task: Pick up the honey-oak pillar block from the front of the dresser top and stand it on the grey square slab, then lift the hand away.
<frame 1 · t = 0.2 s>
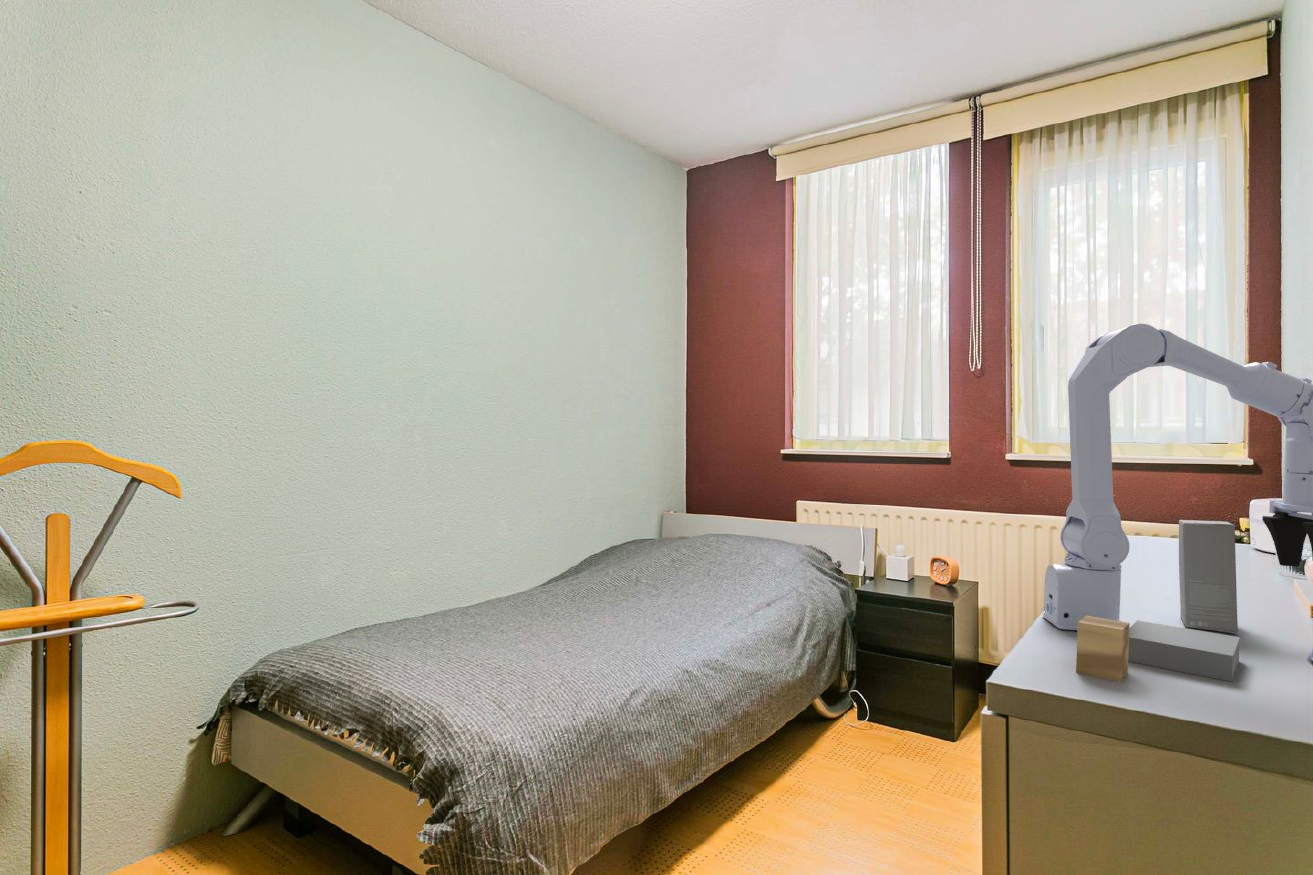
hand: (1306, 570, 103), 10 cm above the table, tool pointing down, fingers open, 7 cm apart
oak block: (1101, 672, 87), on the table
skincare box: (1204, 626, 111), on the table
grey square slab: (1180, 660, 93), on the table
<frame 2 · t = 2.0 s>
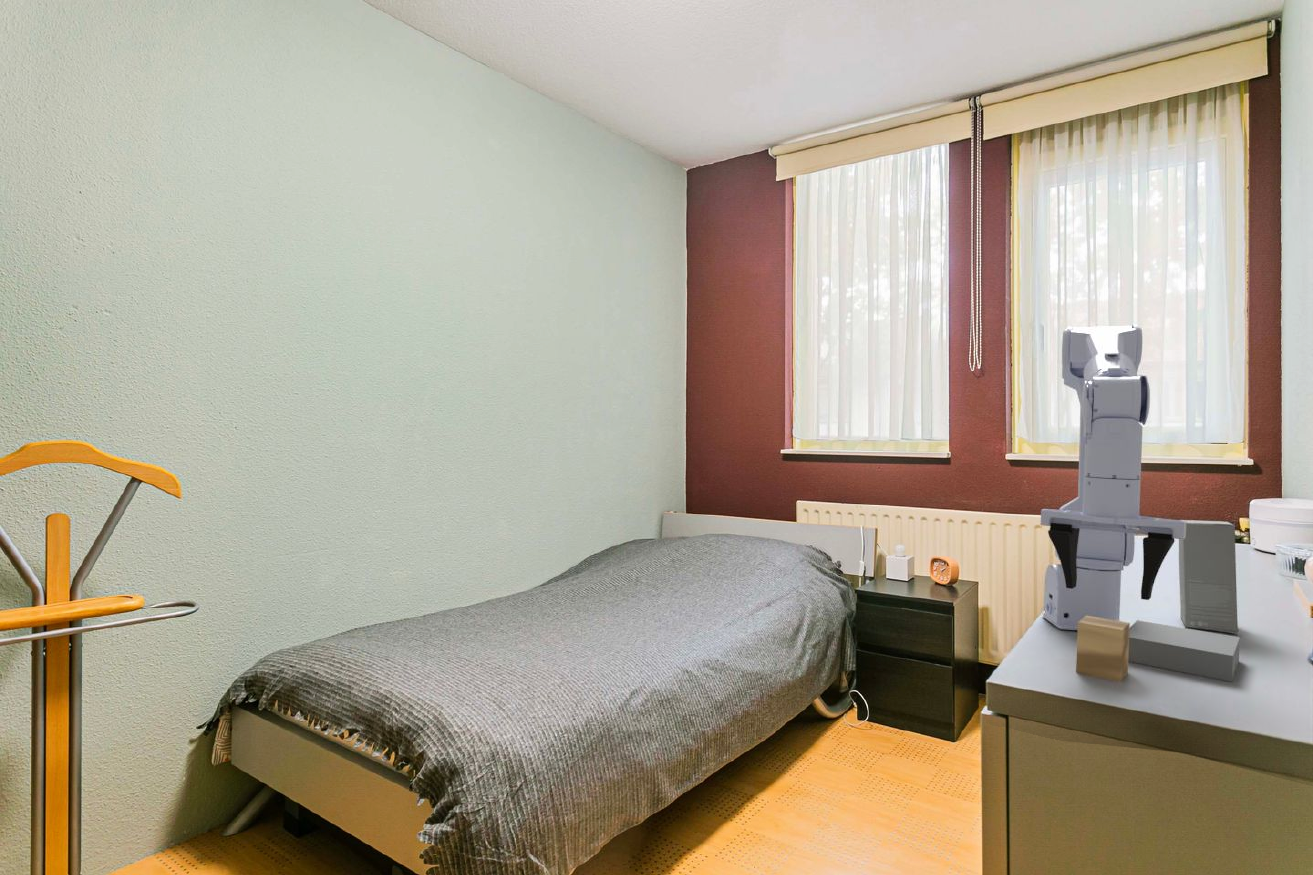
hand: (1107, 592, 87), 9 cm above the table, tool pointing down, fingers open, 7 cm apart
nothing on the table moved.
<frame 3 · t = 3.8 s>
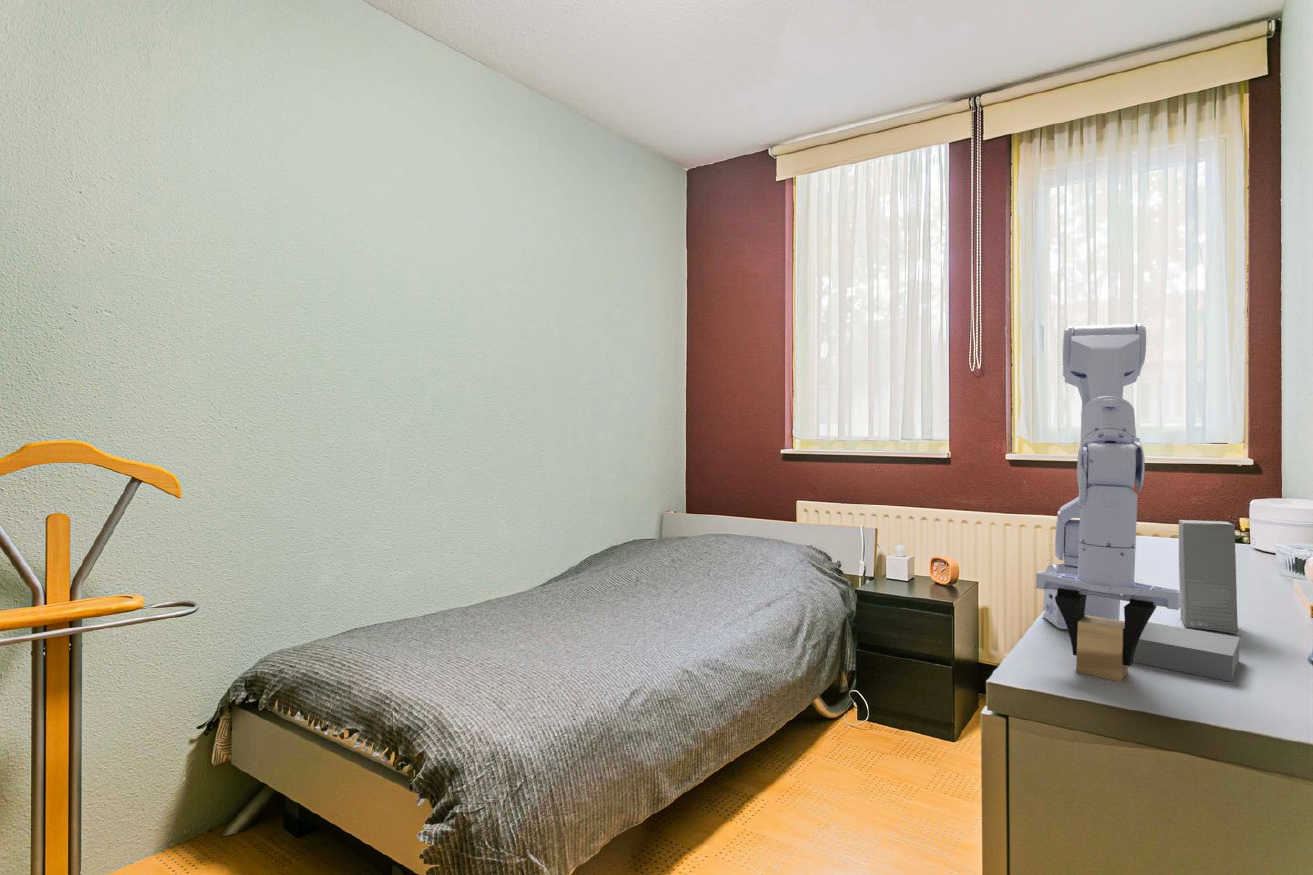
hand: (1102, 658, 87), 2 cm above the table, tool pointing down, fingers closed on oak block, 4 cm apart
oak block: (1101, 672, 87), on the table, touching gripper
everything else where it was.
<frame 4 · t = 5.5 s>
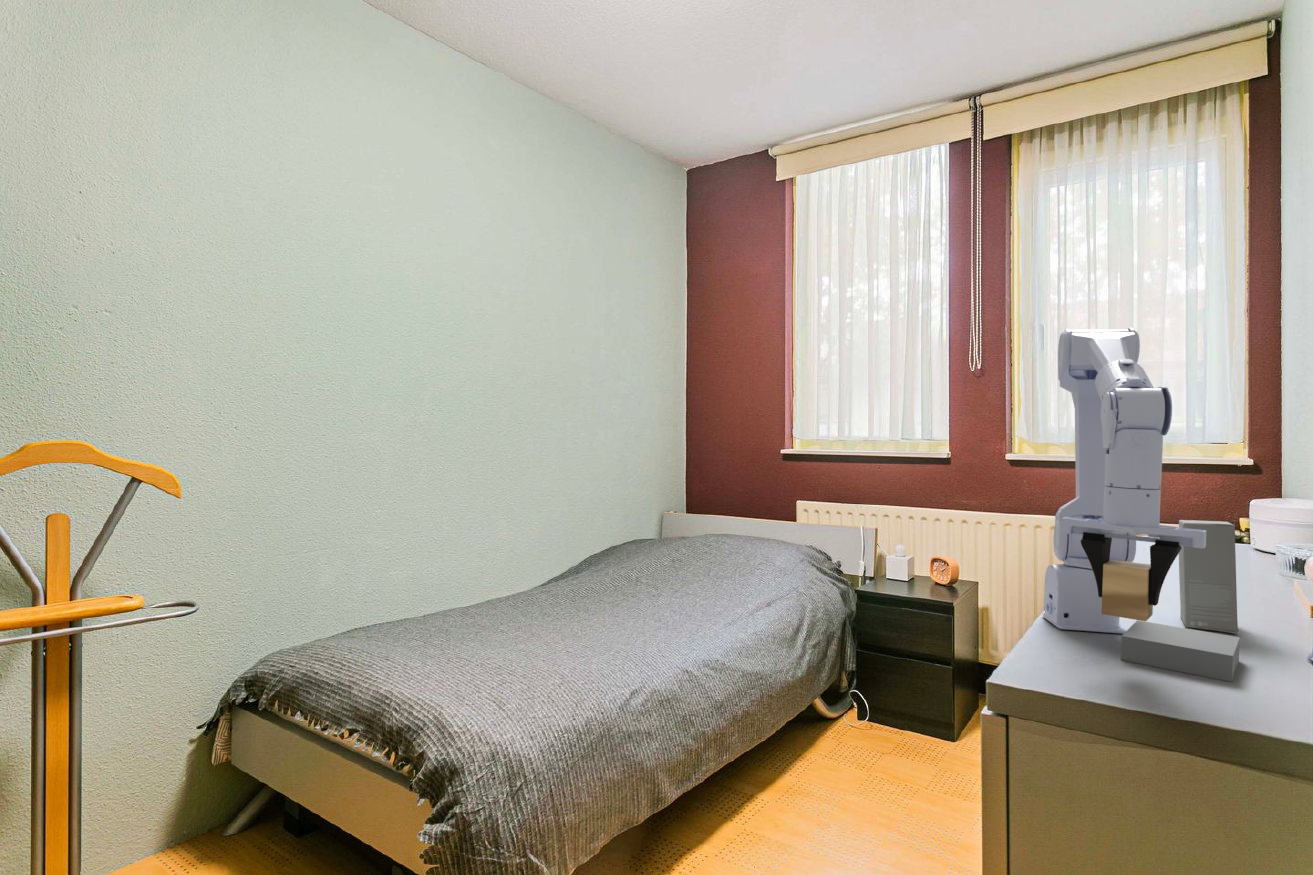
hand: (1127, 599, 89), 8 cm above the table, tool pointing down, fingers closed on oak block, 4 cm apart
oak block: (1127, 614, 89), point 7 cm above the table, touching gripper
everything else where it was.
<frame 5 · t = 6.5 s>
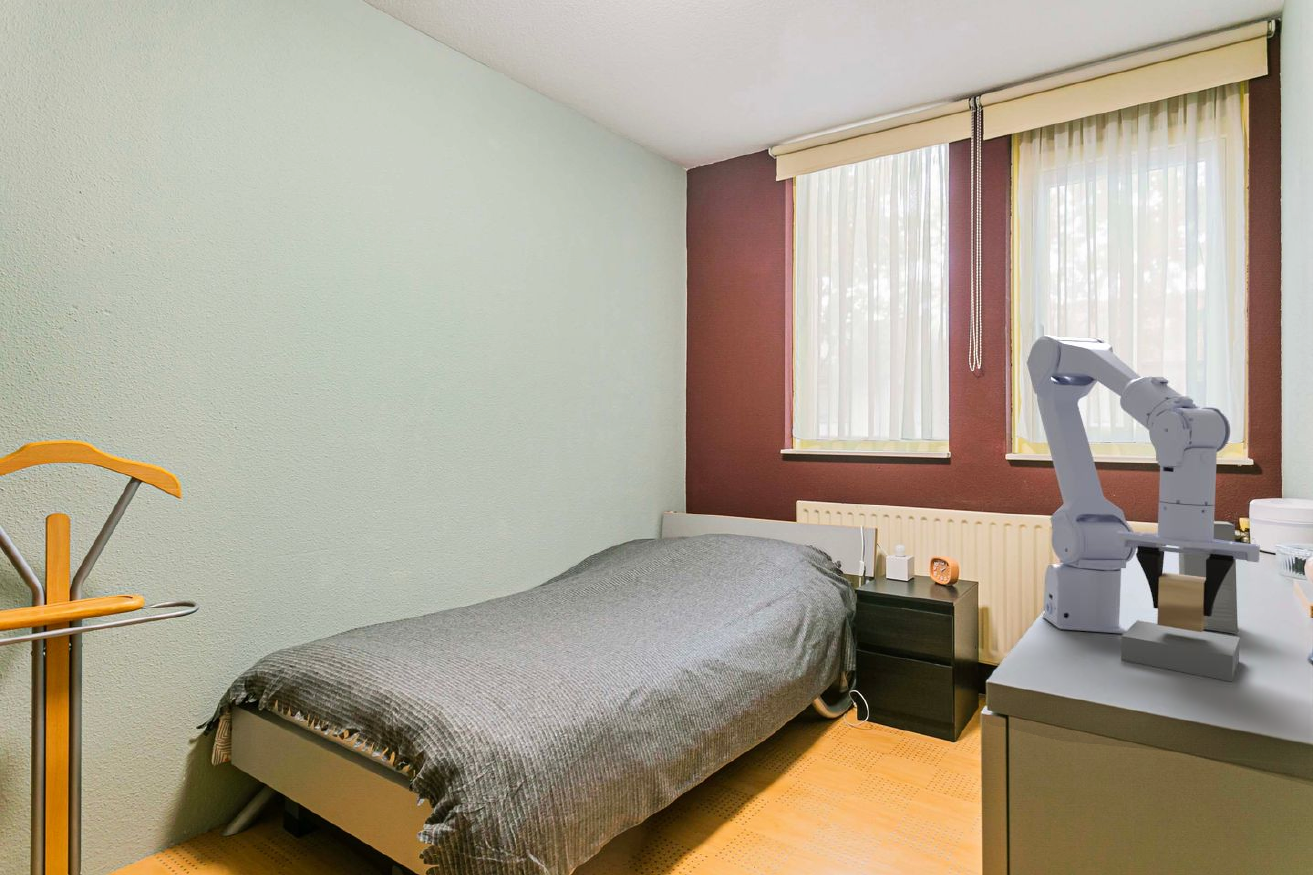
hand: (1182, 611, 92), 6 cm above the table, tool pointing down, fingers closed on oak block, 4 cm apart
oak block: (1181, 624, 92), point 5 cm above the table, touching gripper
everything else where it was.
when the fingers open (6 cm above the table, at t = 7.4 s): oak block drops 1 cm, resting on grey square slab.
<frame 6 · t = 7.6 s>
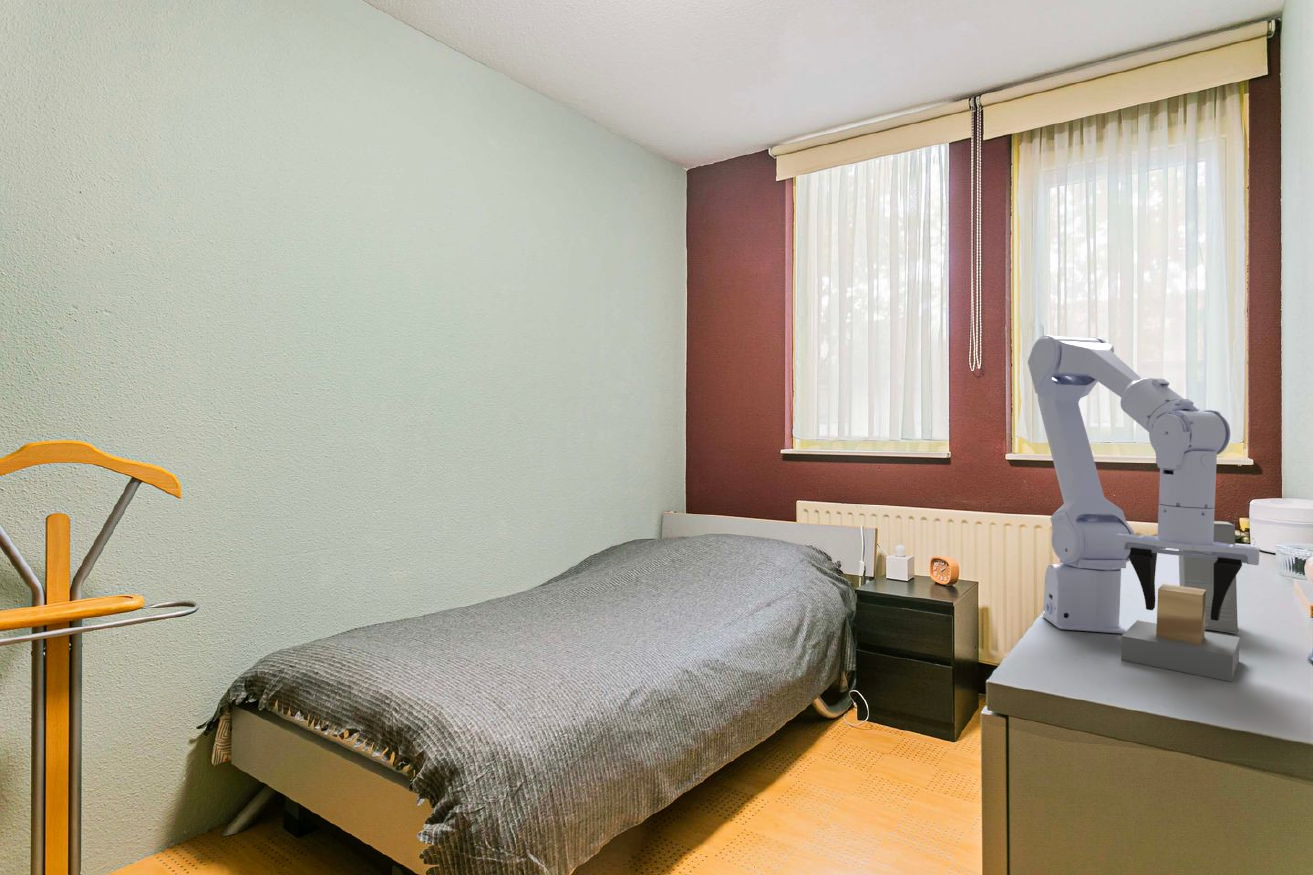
hand: (1181, 613, 93), 6 cm above the table, tool pointing down, fingers open, 6 cm apart
oak block: (1180, 636, 92), point 3 cm above the table, touching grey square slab
everything else where it was.
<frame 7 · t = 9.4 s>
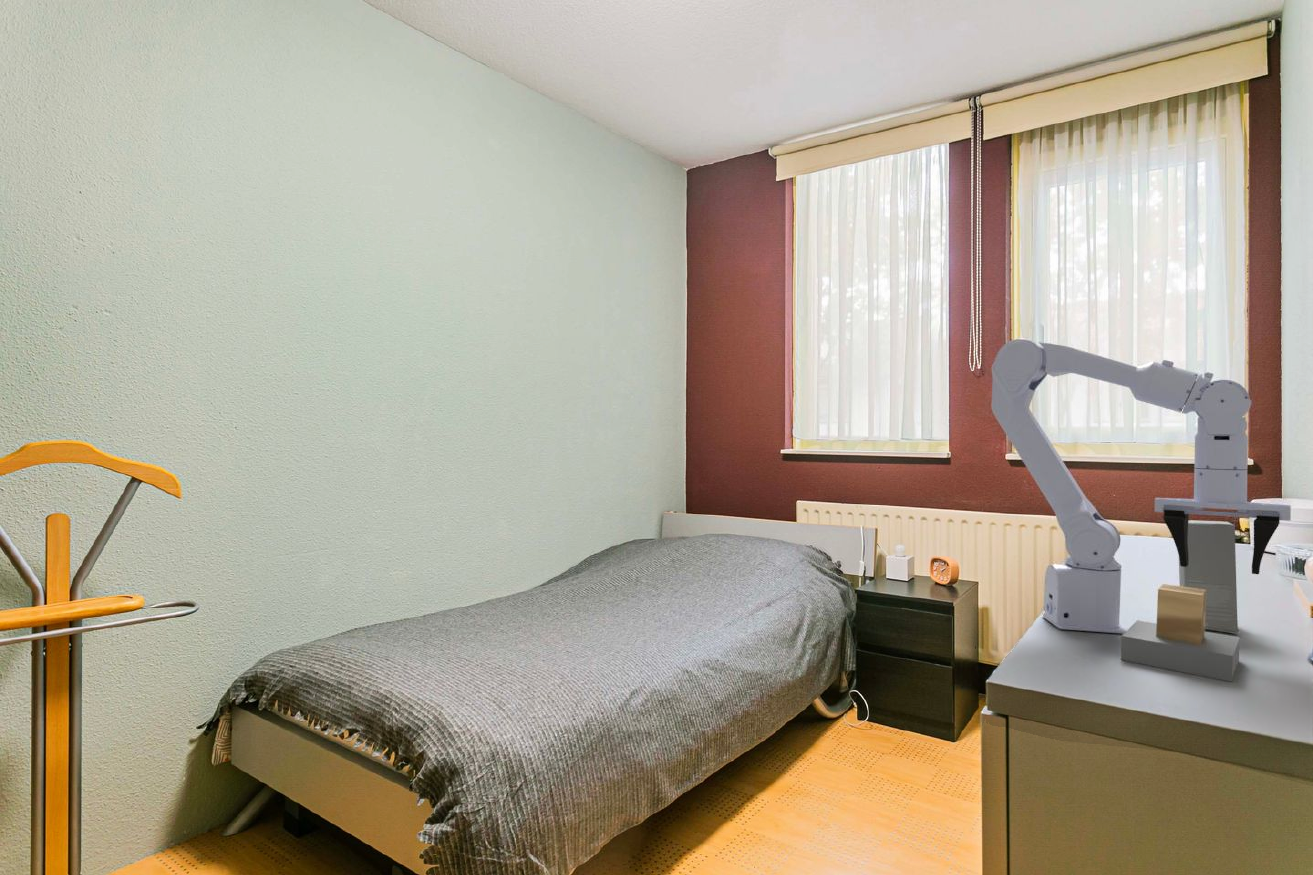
hand: (1219, 569, 100), 10 cm above the table, tool pointing down, fingers open, 7 cm apart
nothing on the table moved.
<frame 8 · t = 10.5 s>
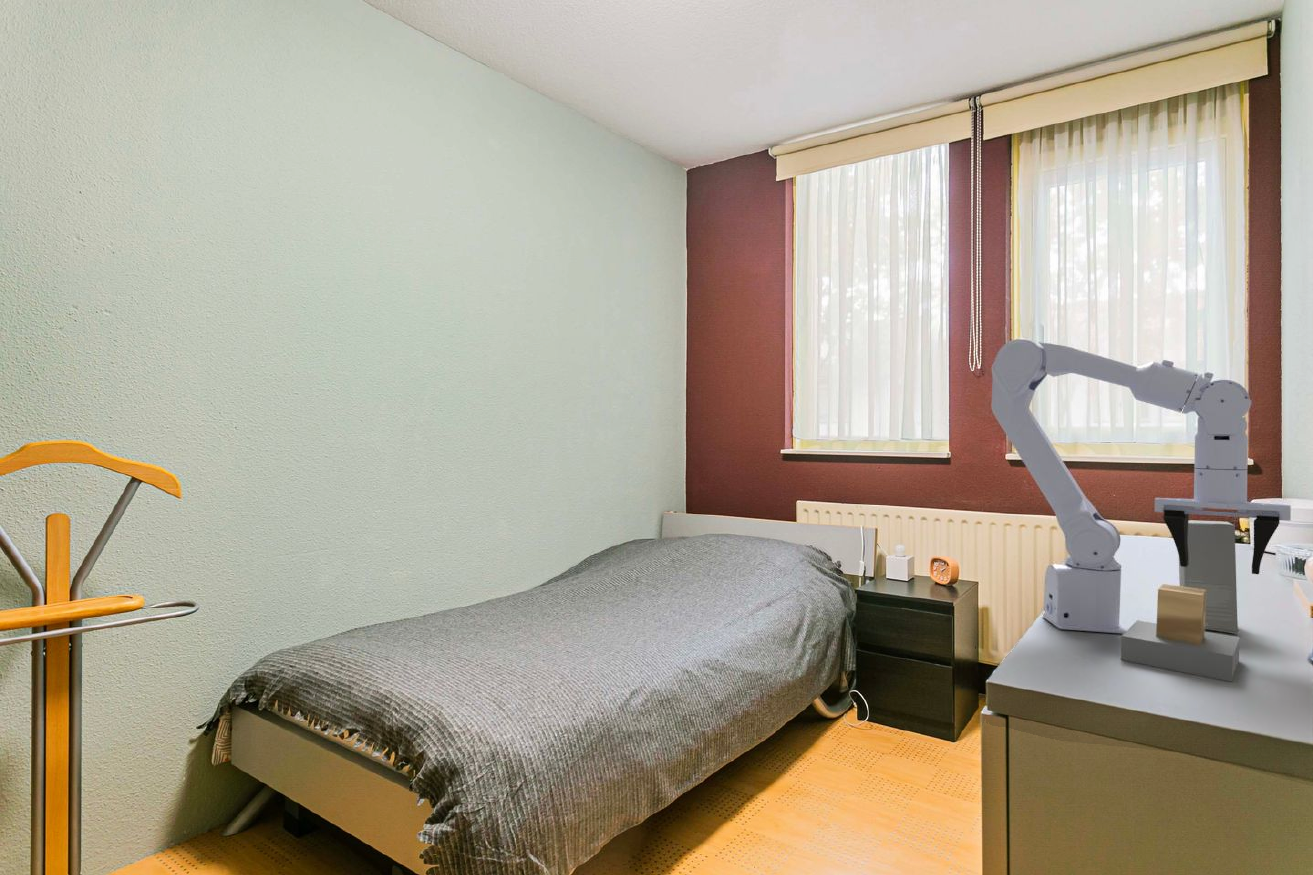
hand: (1219, 569, 100), 10 cm above the table, tool pointing down, fingers open, 7 cm apart
nothing on the table moved.
at the end: oak block inside the target area on the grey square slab (0.1 cm from its centre), point 3.0 cm above the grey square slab's base; oak block tilted 0°; the gripper is holding nothing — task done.
